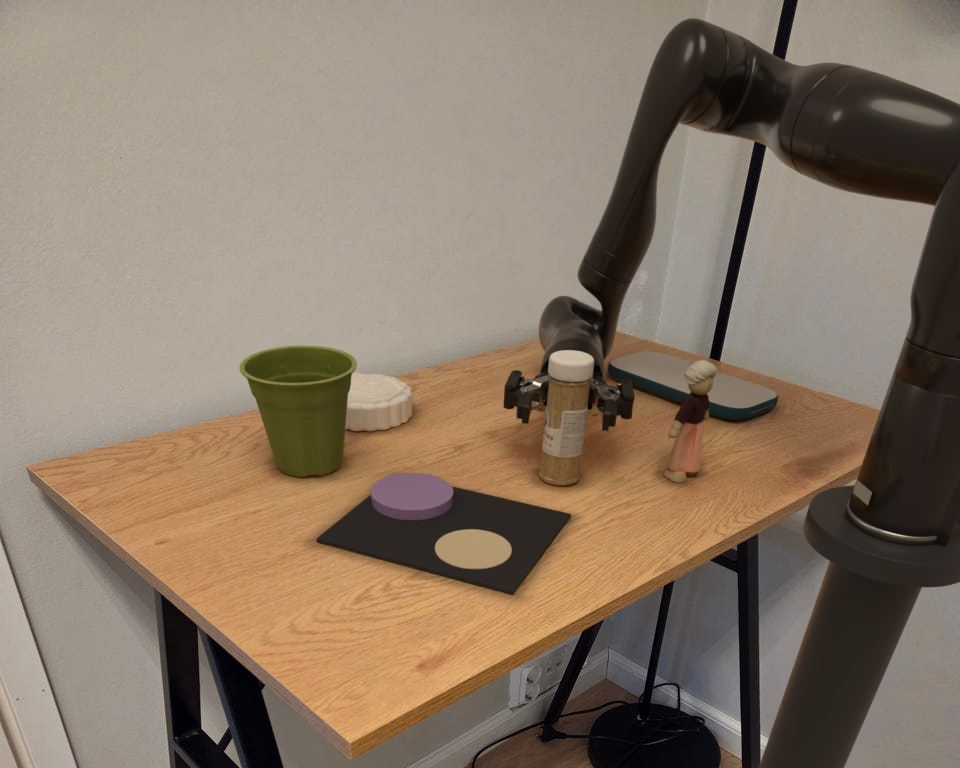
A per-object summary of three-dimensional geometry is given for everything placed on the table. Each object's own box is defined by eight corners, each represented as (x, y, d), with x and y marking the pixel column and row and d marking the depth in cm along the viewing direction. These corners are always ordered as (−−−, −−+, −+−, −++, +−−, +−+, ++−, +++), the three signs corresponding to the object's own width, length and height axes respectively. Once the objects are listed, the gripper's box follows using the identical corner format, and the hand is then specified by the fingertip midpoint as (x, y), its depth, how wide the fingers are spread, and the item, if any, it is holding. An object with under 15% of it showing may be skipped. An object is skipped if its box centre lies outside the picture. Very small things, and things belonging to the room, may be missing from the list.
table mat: (570, 517, 83) (571, 512, 83) (512, 595, 71) (513, 590, 71) (396, 476, 89) (396, 472, 89) (316, 542, 77) (316, 537, 77)
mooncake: (362, 441, 96) (360, 411, 94) (296, 413, 102) (294, 384, 100) (432, 414, 104) (432, 386, 101) (367, 390, 110) (366, 363, 108)
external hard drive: (597, 376, 118) (599, 362, 117) (648, 361, 124) (650, 347, 123) (735, 427, 104) (739, 412, 103) (784, 408, 110) (788, 393, 109)
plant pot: (272, 439, 95) (260, 341, 89) (372, 447, 95) (367, 349, 88) (238, 484, 86) (221, 378, 79) (348, 493, 85) (341, 387, 79)
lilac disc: (466, 493, 85) (466, 482, 85) (431, 528, 79) (431, 517, 79) (395, 476, 88) (395, 466, 87) (355, 509, 82) (355, 498, 81)
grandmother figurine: (688, 489, 89) (712, 374, 81) (654, 481, 90) (675, 366, 83) (708, 465, 94) (733, 354, 87) (676, 457, 96) (698, 347, 88)
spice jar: (533, 471, 91) (543, 349, 83) (571, 468, 92) (585, 347, 84) (546, 489, 88) (558, 364, 80) (586, 485, 89) (601, 361, 81)
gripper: (515, 332, 97) (500, 377, 84) (636, 342, 96) (639, 389, 83) (511, 394, 101) (496, 446, 89) (627, 404, 100) (628, 458, 87)
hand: (566, 418), depth 86 cm, fingers open, 8 cm apart
